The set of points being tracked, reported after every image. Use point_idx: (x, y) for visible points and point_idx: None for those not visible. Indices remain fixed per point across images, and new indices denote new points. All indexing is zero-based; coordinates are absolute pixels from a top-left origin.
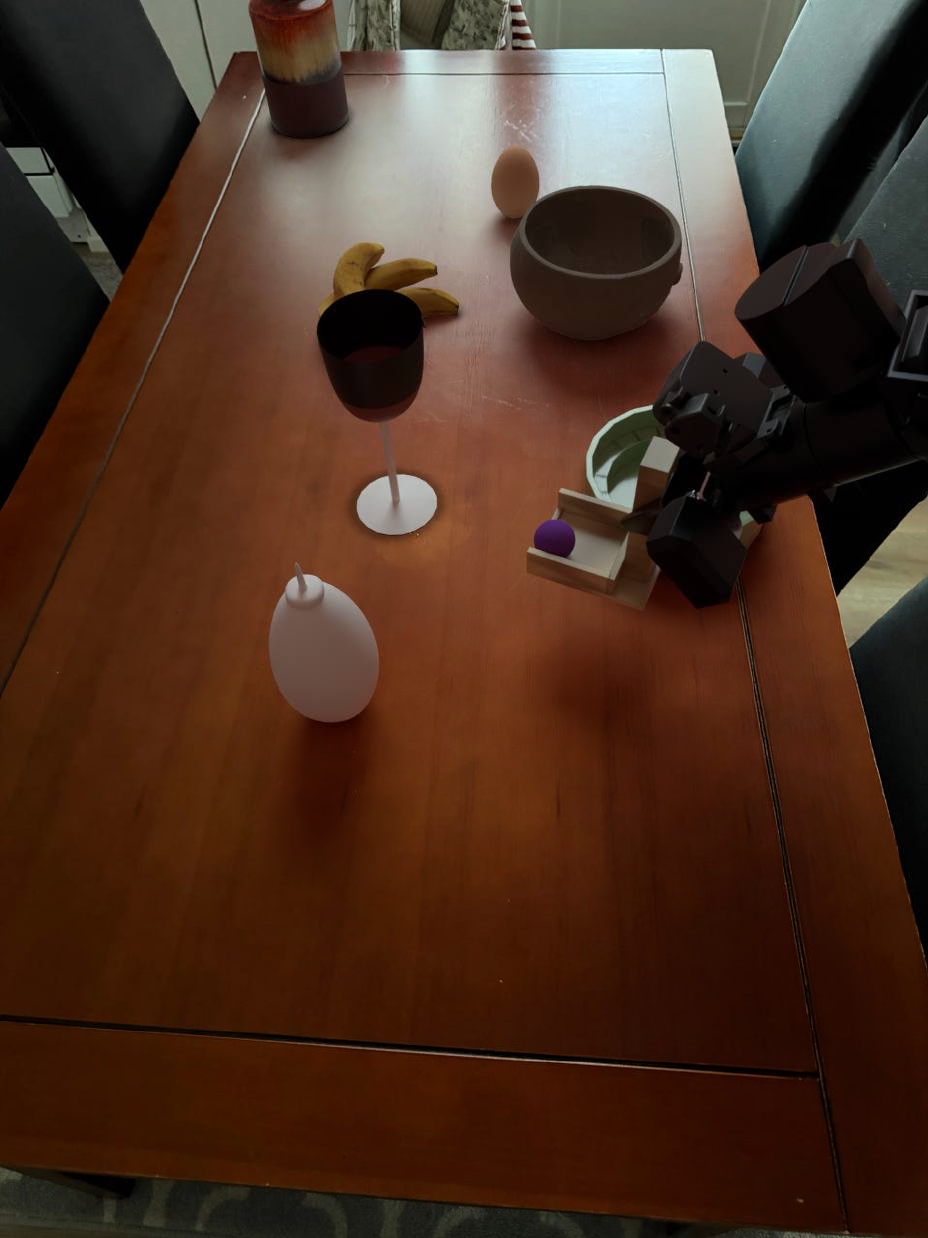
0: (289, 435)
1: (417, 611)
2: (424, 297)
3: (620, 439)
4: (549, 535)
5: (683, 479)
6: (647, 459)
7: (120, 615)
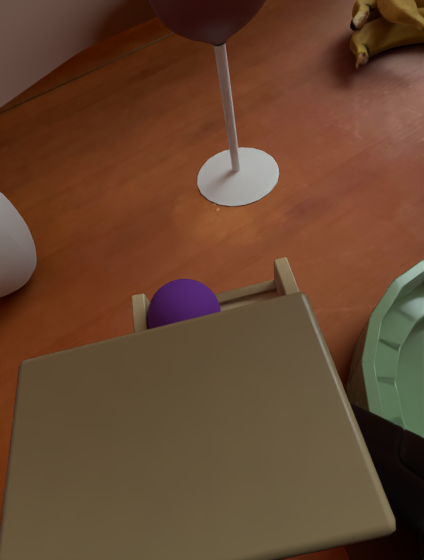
0: (243, 83)
1: (136, 266)
2: None
3: None
4: (156, 302)
5: (369, 551)
6: (82, 374)
7: (37, 129)
